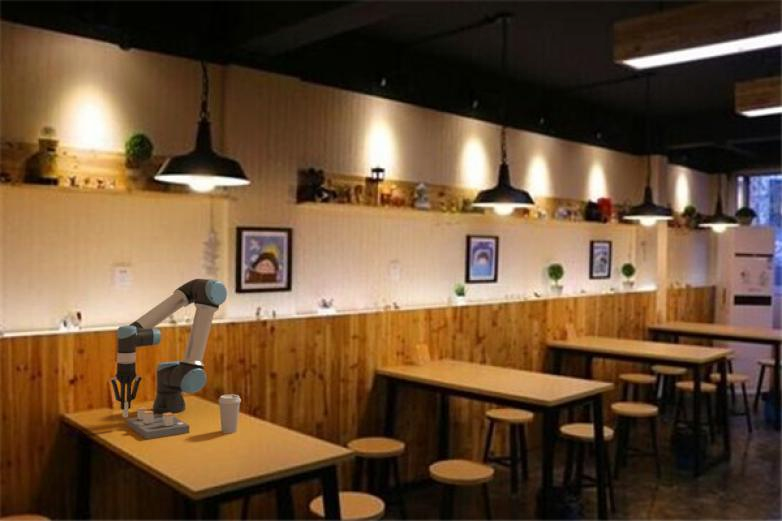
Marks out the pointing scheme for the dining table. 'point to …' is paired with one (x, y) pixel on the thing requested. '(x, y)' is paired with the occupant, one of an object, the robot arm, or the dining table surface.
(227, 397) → the coffee cup
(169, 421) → the slider
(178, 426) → the switch unit
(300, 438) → the dining table surface
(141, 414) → the slider
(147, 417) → the slider mid
